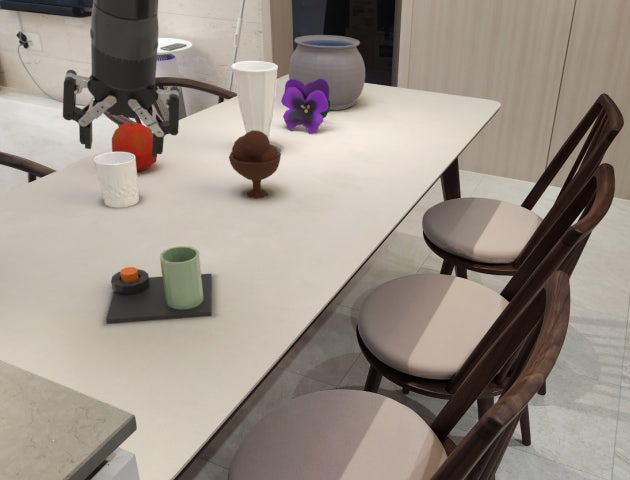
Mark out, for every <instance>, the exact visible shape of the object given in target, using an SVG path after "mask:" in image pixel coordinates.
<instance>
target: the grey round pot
mask: <svg viewBox="0 0 630 480" xmlns="http://www.w3.org/2000/svg"><path fill="white" fill-rule="evenodd" d="M294 43H296V44H297V46H296V48H295V49H294V50H293V53H292V54H291V56H290V60H289V65H288V80H290V79H294V80H298V81H300V82H302V83H303V84H304V85H305V86H306V85H307V84H308V83H311V82H314V81H316V80H318V79H324V80H325V81H326V82H327V83H328V86H329V101H330V108H329V111H341V110H346V109H349V108H351V107H353V106H354V105H355V104H356V102H355V101H356V100H357V99H359V97H360V96H361V94H362V92H363V89H364V86H365V82H366V66H365V62H364V59H363V58H364V57H362V54H361V53H360V51H359V50H358V48H357V47H358V46H359V45H360V44H361V42H360V40H358V39H355V38H354V37H353V38H352V37H348V36H342V35H330V34H329V35H327V34H313V35H302V36H297V37H295V38H294Z"/></svg>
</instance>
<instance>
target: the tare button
mask: <svg viewBox="0 0 630 480" xmlns="http://www.w3.org/2000/svg"><path fill="white" fill-rule="evenodd" d="M137 269H138V268H136V267H135V266H127V267H124V268H122V269H120V271H119V272H120V275H121V280H122V282H126V283H127V282H133V281H137V280H138V279H139V276H138V270H137Z"/></svg>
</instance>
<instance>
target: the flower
mask: <svg viewBox="0 0 630 480" xmlns="http://www.w3.org/2000/svg"><path fill="white" fill-rule="evenodd" d="M280 102H281V104H282V105H283V106H284V107H286V108H287V109H286V110H285V111H284V113H283V115H282V118H283V121H284V124H285V125H286V128H287V130H288V131H290V132H291V131H293V130H294V129H296V128H297V127H298V126H301V125H302V126H303V127H305V129H306V130H307V131H308V133H309V134H310V135H311V134H312V135H314V134H317V132H318V130H319V127H320V126H321V125H322V124H323V123H324V119H325V118H326V117H327V116H328V113H329V112H330V110H329V108H330V101H329V86H328V83H327V82H326V81H325V80H324V79H318V80H316V81H314V82H311V83H308V84H307V85H306V86H305V85H304V84H303V83H302V82H300V81H298V80H294V79H290V80H289V79H288V80H287V81H286V82H285V85H284V93H283V94H282V96H281V101H280Z"/></svg>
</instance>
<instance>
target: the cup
mask: <svg viewBox="0 0 630 480" xmlns="http://www.w3.org/2000/svg"><path fill="white" fill-rule="evenodd" d="M230 69H231V70H232V73H233V74H232V75H233V81H234V85H235V92H236V96H237V101H238V106H239V110H240V115H241V118H242V122H243V126H244V130H245V134H246V133H248V132H250V131H252V130H255V131H260V132H262V133H264V134H265V135H267V137H268V138H269V137H270V132H271V128H272V122H273V117H274V109H275V102H276V93H277V92H276V91H277V81H278V80H277V79H278V69H279V66H278V64H276V63H274V62H270V61H264V60H243V61H237V62H233V63H232V64H231V66H230ZM270 145H273V146H274V147H275V148H276V149H277V151H278V152H280V153H281V148H280V147H279V146H277V145H275V144H271V143H270Z"/></svg>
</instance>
